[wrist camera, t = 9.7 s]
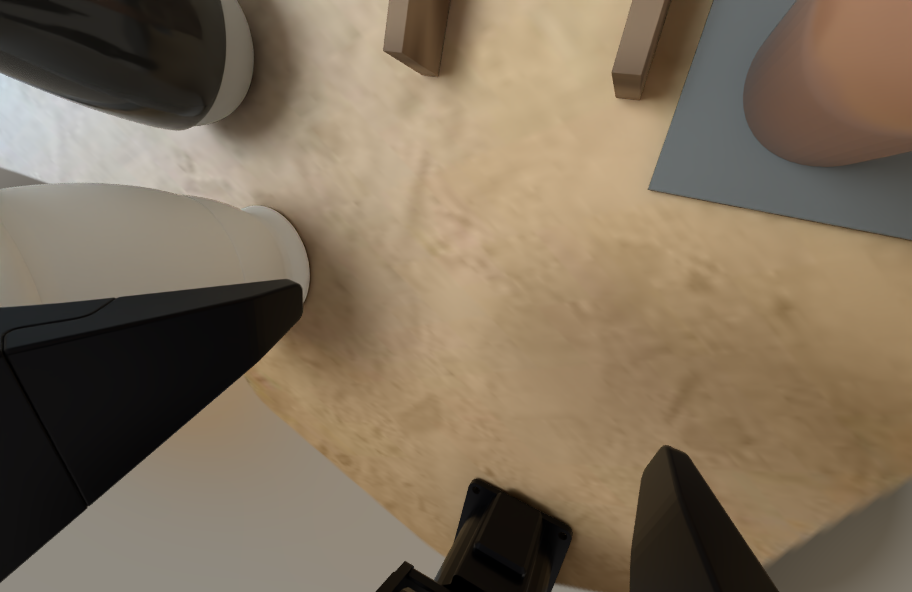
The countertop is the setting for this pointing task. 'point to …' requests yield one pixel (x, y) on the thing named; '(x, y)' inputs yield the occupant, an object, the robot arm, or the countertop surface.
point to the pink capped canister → (834, 83)
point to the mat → (746, 160)
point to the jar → (135, 243)
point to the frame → (424, 23)
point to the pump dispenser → (132, 56)
